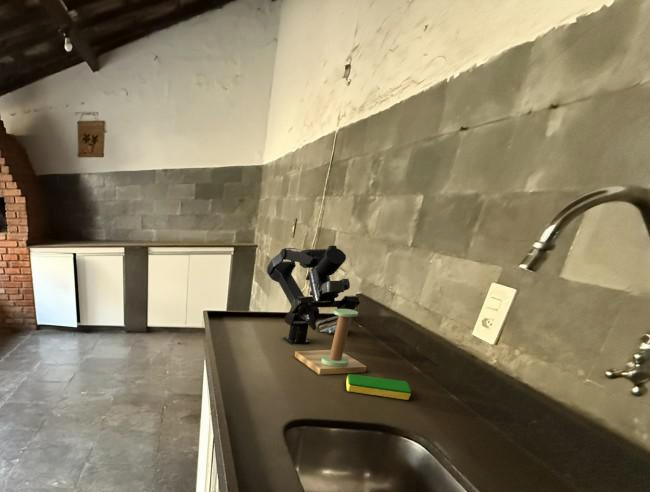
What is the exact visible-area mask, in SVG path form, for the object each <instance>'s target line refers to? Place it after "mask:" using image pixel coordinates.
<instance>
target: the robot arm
mask: <svg viewBox="0 0 650 492" xmlns="http://www.w3.org/2000/svg"><path fill="white" fill-rule="evenodd" d="M346 260H347V254H346V253H345V252H344V251H343V250H341V249H339V248H338V247H337V245H329V246H328V247H327V248H306V249H301V248H296V247H284V248H282V249H281V250H280V252H279V253H278V254H277V255H275V256H274V257H273V258H272V259H270V262H269V263H268V265H267V268H266V272H267V275H268V277H269V278H270V279H271V281H274V282H276V283H278V284H279V286H280V287H281V290H282V292H283V293H284V295H285V297H286V298H287V301H288V302H289V304H290V309H289V311H288V312H287V314H286V315H285V316H284V322H285V324H287V325H289V329H288V336H283V339H284V340H286V341H287V342H289V343H290V344H294V345H296V344H297V345H298V344H310V340H308V339H307V337H308V330H309V327H310V329H312V331H316V330H317V327H316V323H317V320H318V318H319V315H320V308H323V309H324V308H336V309H350V310H355V309H356V308H357V307H358V306H359V305H360V304H361V300H360V296H359V295H344V296H343V297H342V298H341V299H340V300H335V299H337V298H339V294H341V293H344V292H345V291H349V290H350V287H351V286H350V285H351V283H350V280H349V278H342V279H339V280H331V276H332V275H334V274H335V273H336V272H337V271H338V270H339V269H340V267H341V266H342V265H343V264H344V263H345V262H346ZM296 263H299V266H300V267H302V268H304V269H310V270H309V271H308V272H307V275H306V277H305V281H309V287H310V291H309V296H305V295H304V293H303V292H302V290H301V288H300V287H299V285H298V283H297V282H296V279H295V278H294V276H293V271H294V270H295V268H296V265H297V264H296Z"/></svg>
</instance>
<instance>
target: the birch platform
mask: <svg viewBox="0 0 650 492" xmlns="http://www.w3.org/2000/svg"><path fill="white" fill-rule="evenodd" d="M294 352H295V353H294V358H296V359H297V360H299V361H300V362H301V363H302V364H304V365H305V366H306V367H308V368H309V369H311V370H312V371H313V372H315V373H316V374H317V375H319V376H321V375H340V374H358V373H359V374H360V373H367V372H366V371H367V368H368V366H367V365H365V364H363V363H362V362H360V361H358V360H356V359H355V358H353V357H351V356H350V355H348V354H346V353H345V352H343V355H342V357H345V358H347V359H348V360H349V361H348V365H347V366H345V367H333V366H329V365H326V364H324V363H322V357H323V356H325V355H330V353H331V349H316V350H296V351H294Z"/></svg>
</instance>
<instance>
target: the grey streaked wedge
mask: <svg viewBox="0 0 650 492" xmlns="http://www.w3.org/2000/svg"><path fill="white" fill-rule="evenodd" d="M338 317H339V316H338V315H335V316H331V317H327V318H324V319H320V320H318V321H316V328H318V329H319V332H320V333H322V332H323V333H329V334H330V335H333V334H335V330H336V326H337V321H338ZM352 324H353V319H352V318H351V321H350V325H349V329H350V328H351V327H352Z"/></svg>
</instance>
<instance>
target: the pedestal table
mask: <svg viewBox="0 0 650 492" xmlns="http://www.w3.org/2000/svg"><path fill="white" fill-rule="evenodd" d="M333 314H334V315H335V316H337V315H338V316H339V317H338V321H337V326H336V330H335V333H334V335H333V340H332V344H331V348H330V350H331V353H330V355H325V356H323V357H322V363H324V364H326V365H329V366H333V367H345V366H347V365H348V361H349V360H348V359H347V358H345V357H342V355H343V353H344V350H345V346H346V342H347V337H348V334H349V329H350V328H349V325H350V321H351V319H352V318H355V317H358V316H359V311H357V310H355V309H353V310H350V309H337V308H336V309H334V311H333Z"/></svg>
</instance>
